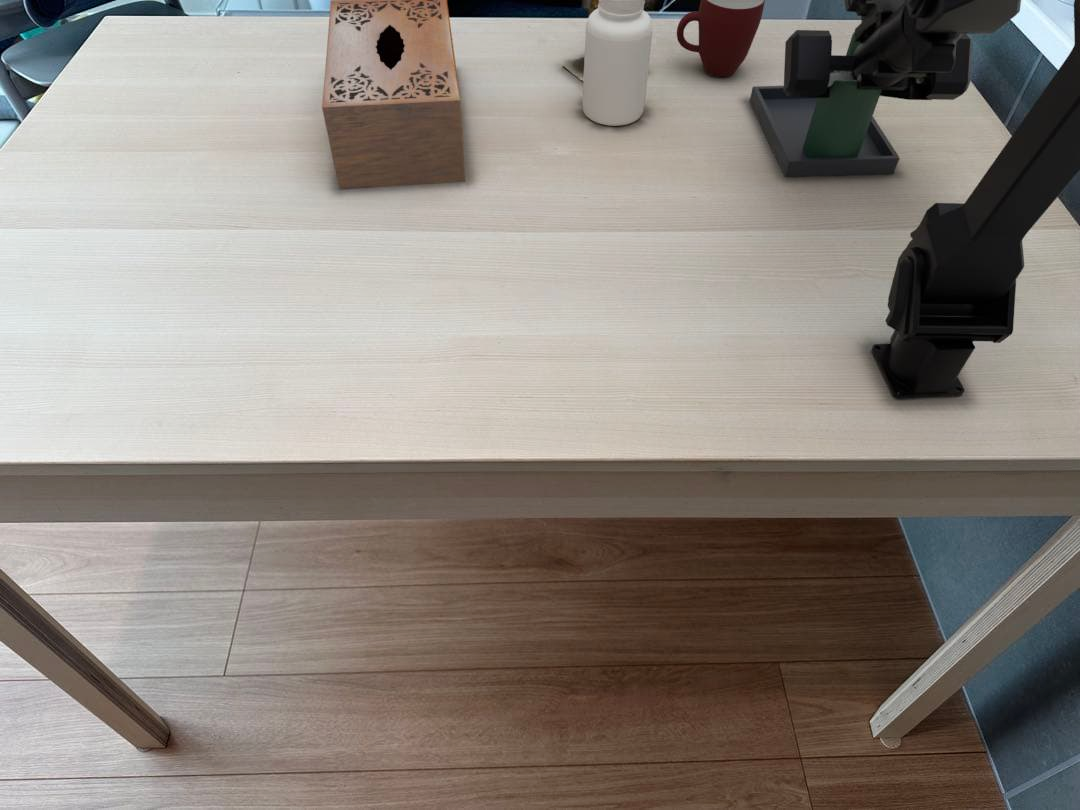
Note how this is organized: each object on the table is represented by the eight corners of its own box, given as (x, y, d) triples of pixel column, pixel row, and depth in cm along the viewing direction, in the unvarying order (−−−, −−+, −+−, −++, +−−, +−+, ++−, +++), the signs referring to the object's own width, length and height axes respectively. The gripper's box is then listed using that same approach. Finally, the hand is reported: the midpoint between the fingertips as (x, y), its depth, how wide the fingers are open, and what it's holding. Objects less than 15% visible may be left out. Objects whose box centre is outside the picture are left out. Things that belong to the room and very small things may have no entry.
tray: (893, 173, 94) (900, 158, 93) (784, 177, 93) (789, 161, 92) (847, 98, 105) (852, 83, 104) (749, 101, 104) (752, 86, 103)
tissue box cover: (344, 77, 107) (330, 0, 99) (451, 71, 108) (446, -5, 101) (339, 189, 91) (322, 107, 83) (465, 181, 92) (460, 100, 84)
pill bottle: (605, 89, 106) (615, -31, 94) (655, 109, 103) (671, -12, 91) (568, 112, 102) (574, -10, 90) (619, 135, 99) (631, 11, 87)
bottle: (809, 166, 94) (846, 49, 83) (798, 136, 98) (831, 21, 87) (863, 167, 94) (906, 50, 83) (850, 137, 98) (889, 22, 87)
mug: (674, 84, 107) (686, 8, 99) (669, 55, 112) (680, -19, 105) (753, 86, 107) (770, 10, 99) (744, 57, 112) (760, -18, 105)
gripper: (1011, -48, 75) (930, 18, 91) (815, -51, 75) (767, 15, 91) (1004, 74, 76) (924, 119, 92) (809, 70, 76) (763, 115, 92)
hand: (845, 89), depth 91 cm, fingers open, 7 cm apart
